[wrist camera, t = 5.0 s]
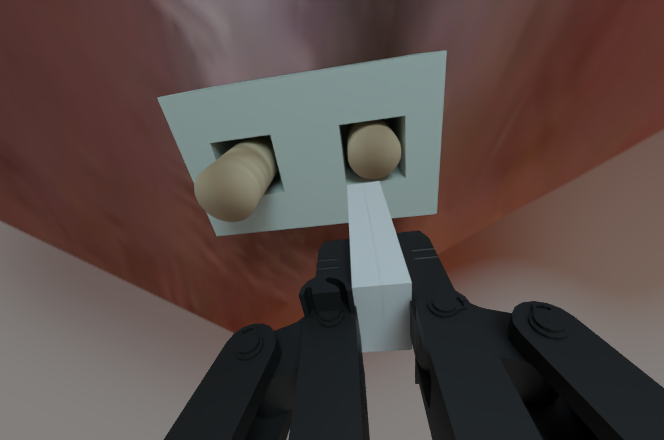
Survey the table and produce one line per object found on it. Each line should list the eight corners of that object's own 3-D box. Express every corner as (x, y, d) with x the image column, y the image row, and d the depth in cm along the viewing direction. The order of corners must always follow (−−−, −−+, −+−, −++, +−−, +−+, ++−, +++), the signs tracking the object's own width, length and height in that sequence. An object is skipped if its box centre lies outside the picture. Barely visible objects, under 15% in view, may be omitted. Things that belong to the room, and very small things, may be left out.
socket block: (246, 195, 33) (216, 236, 25) (210, 87, 27) (156, 97, 19) (413, 175, 31) (436, 213, 23) (414, 53, 25) (446, 50, 17)
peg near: (244, 180, 25) (208, 224, 19) (230, 138, 23) (184, 170, 17) (285, 175, 25) (263, 218, 18) (274, 131, 23) (245, 161, 16)
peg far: (348, 152, 28) (350, 182, 21) (344, 112, 26) (344, 131, 19) (387, 147, 28) (401, 176, 21) (385, 106, 26) (400, 123, 19)
